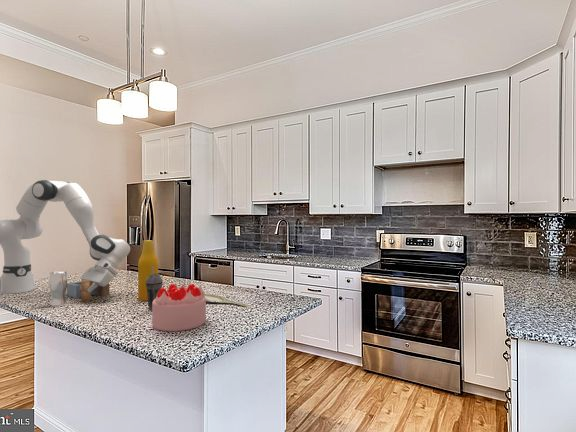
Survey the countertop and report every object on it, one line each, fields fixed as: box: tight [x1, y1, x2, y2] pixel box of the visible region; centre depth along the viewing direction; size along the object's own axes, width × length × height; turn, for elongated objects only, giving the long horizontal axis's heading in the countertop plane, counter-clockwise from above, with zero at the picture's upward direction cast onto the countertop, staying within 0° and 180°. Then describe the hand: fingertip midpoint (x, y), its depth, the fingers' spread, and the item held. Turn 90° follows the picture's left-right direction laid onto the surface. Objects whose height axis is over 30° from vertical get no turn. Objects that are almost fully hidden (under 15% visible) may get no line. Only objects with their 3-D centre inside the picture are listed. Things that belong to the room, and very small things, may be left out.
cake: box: [151, 283, 207, 332], centre depth 132 cm, size 20×20×14 cm
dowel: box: [80, 280, 92, 303], centre depth 165 cm, size 4×4×10 cm
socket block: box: [66, 281, 98, 299], centre depth 179 cm, size 10×10×6 cm
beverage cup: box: [145, 264, 164, 311], centre depth 153 cm, size 7×7×20 cm
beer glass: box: [48, 270, 68, 307], centre depth 159 cm, size 7×7×15 cm
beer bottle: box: [137, 239, 159, 302], centre depth 170 cm, size 9×9×29 cm
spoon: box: [204, 293, 254, 309], centre depth 163 cm, size 35×11×2 cm, turn 62°
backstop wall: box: [96, 282, 110, 297], centre depth 183 cm, size 20×3×6 cm, turn 56°
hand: (84, 290), depth 165 cm, fingers open, 5 cm apart
